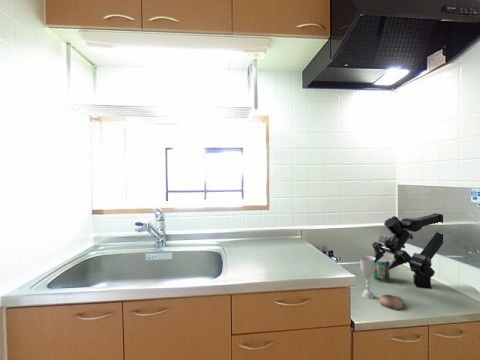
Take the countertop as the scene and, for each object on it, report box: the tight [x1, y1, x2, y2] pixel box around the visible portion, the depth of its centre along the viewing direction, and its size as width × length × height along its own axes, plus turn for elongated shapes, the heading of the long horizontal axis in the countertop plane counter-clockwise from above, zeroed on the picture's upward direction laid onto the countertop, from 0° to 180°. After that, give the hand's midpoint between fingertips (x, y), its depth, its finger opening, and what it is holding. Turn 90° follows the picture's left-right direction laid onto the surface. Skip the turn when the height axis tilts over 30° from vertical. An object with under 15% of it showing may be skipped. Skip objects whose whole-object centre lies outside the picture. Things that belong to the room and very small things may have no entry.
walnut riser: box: [379, 294, 404, 311], centre depth 116 cm, size 9×9×2 cm
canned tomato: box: [372, 256, 391, 284], centre depth 143 cm, size 8×8×11 cm
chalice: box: [358, 255, 376, 300], centre depth 124 cm, size 7×7×18 cm
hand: (380, 265), depth 126 cm, fingers open, 9 cm apart
